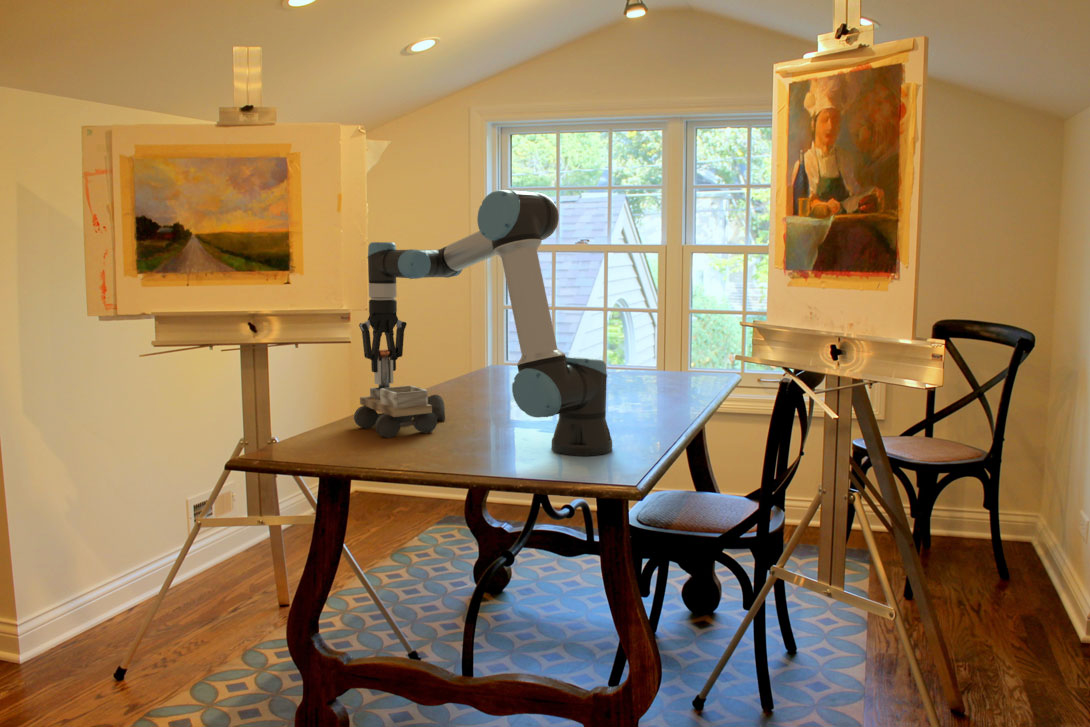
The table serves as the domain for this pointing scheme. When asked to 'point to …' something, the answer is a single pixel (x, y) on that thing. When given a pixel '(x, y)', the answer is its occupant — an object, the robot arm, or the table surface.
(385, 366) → the pin
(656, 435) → the table surface
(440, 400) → the stone
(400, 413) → the cart
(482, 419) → the table surface
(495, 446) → the table surface
